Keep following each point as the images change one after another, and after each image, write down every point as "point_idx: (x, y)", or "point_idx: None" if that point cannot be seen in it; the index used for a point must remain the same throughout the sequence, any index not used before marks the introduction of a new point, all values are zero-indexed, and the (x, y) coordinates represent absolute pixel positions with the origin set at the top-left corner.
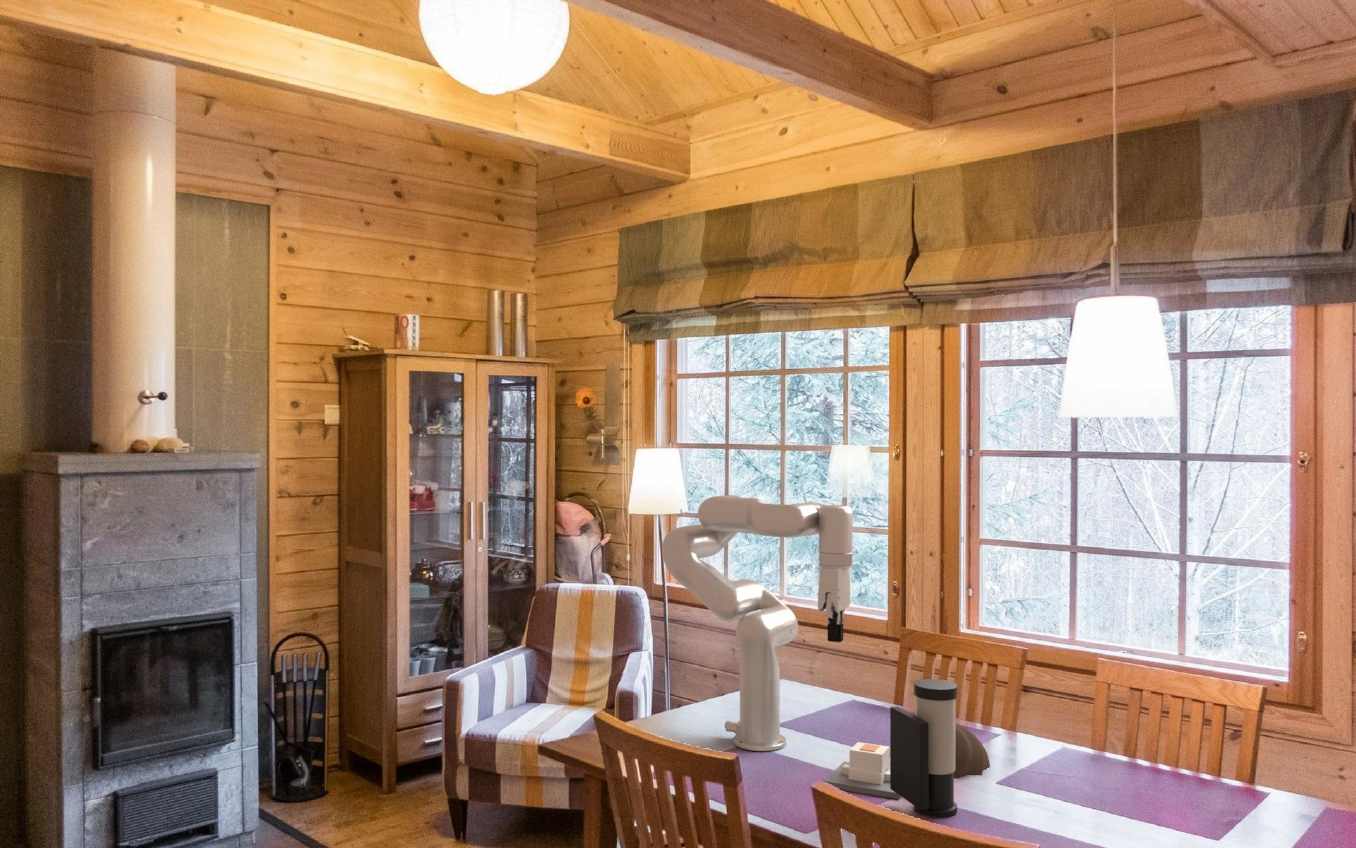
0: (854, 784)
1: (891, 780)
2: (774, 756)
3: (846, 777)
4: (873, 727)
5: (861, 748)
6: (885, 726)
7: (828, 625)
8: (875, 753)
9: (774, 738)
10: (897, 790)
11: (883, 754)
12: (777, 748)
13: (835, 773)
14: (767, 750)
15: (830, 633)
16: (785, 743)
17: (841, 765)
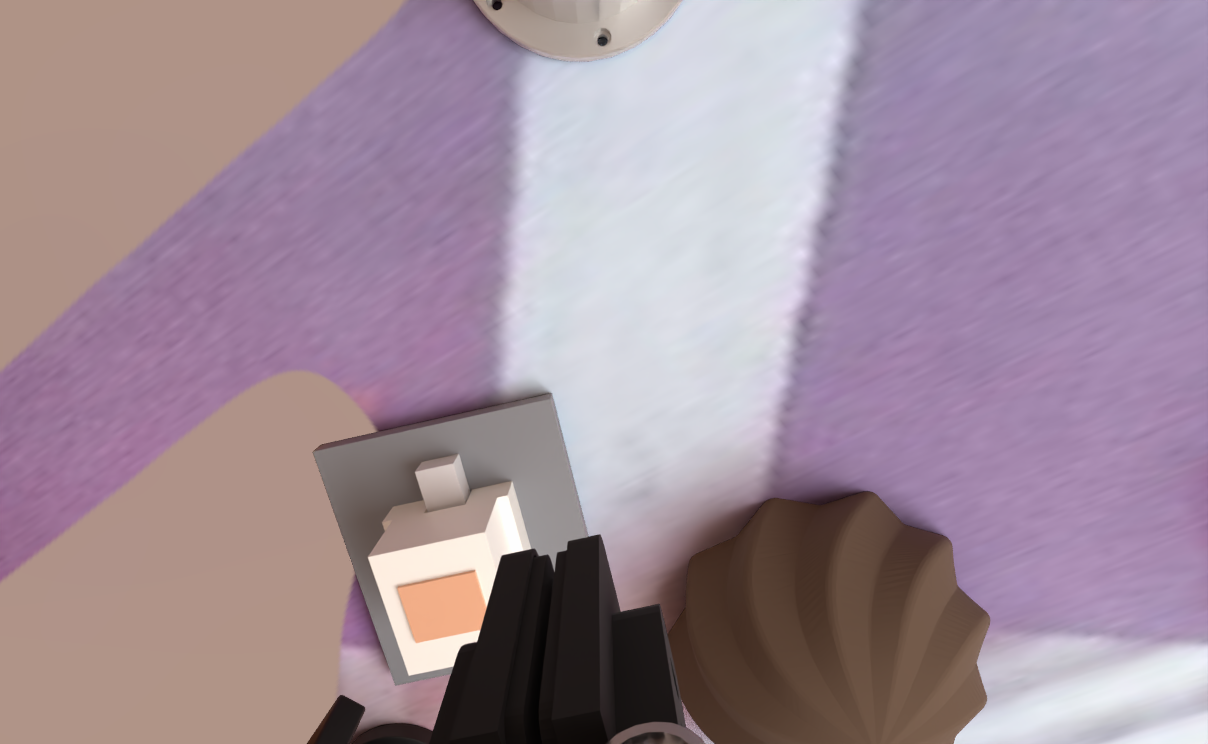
0: (360, 546)
1: (322, 725)
2: (475, 96)
3: (401, 493)
4: (1115, 222)
5: (406, 591)
6: (1158, 257)
7: (462, 726)
8: (402, 652)
9: (564, 15)
10: (311, 738)
11: (427, 669)
12: (549, 56)
13: (409, 442)
14: (501, 32)
15: (453, 686)
16: (622, 51)
17: (502, 414)
